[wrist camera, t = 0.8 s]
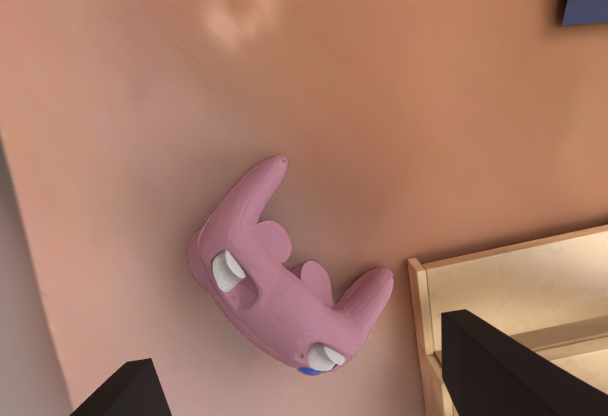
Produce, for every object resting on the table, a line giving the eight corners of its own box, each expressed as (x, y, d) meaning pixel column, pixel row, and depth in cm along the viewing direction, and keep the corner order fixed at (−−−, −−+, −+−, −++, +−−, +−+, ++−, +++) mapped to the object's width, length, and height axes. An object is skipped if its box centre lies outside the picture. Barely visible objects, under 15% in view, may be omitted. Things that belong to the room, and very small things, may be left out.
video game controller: (226, 184, 19) (145, 277, 13) (280, 138, 16) (205, 231, 11) (340, 295, 21) (310, 410, 16) (402, 272, 19) (392, 400, 13)
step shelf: (604, 392, 23) (675, 459, 19) (427, 429, 24) (459, 503, 19) (624, 212, 19) (722, 246, 15) (406, 258, 19) (441, 306, 15)
